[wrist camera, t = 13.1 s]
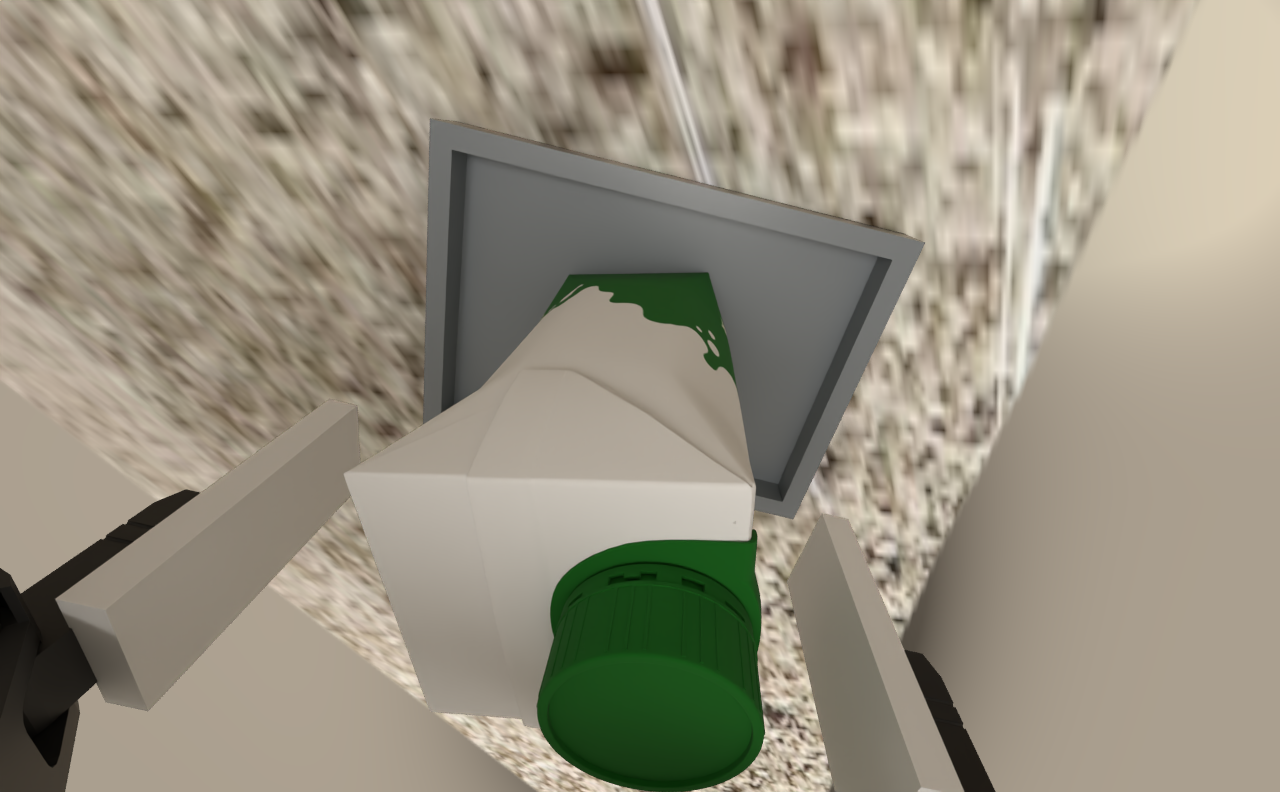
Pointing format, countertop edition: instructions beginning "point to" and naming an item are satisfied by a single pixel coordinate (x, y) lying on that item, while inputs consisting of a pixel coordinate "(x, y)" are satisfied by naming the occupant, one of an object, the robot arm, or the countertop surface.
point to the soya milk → (587, 539)
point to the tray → (656, 243)
